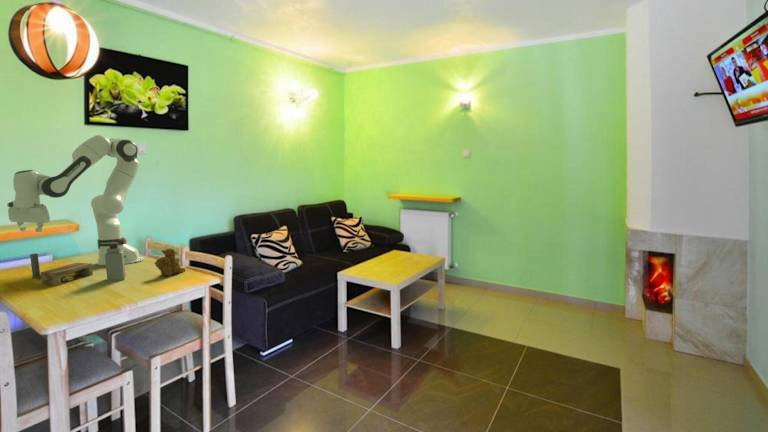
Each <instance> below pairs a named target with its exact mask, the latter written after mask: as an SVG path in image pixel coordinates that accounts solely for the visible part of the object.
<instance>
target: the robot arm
mask: <svg viewBox="0 0 768 432" xmlns="http://www.w3.org/2000/svg"><path fill="white" fill-rule="evenodd" d="M138 150H139V149H138V146H137V144H136V143H135V142H134V141H132V140H129V139H125V138H108V137H106V136H104V135H102V134H96V135H93V136H92V137H90V138H88V139H86V140H85V141H84V142H82V143H81V144H80V145H78V146H77V148H76V149H74V150H73V152H72V154H71V158H72V162H71V163H70V164H69V165H68V166H67V167H66V168H65V169H64V170H63V171H61V172H60V173H59V174H57V175H55V176H50V175H45V174H42V173H40V172H37V171H36V170H34V169H27V170H26V169H25V170H20V171H16V172H15V173H14V174H13V178H12V180H13V190H14V192H15V195H14V200H12V201H10V202H8V203H6V205H7V208H8V209H7V211H8V213H7V214H8V220H9V221H10V222H12V223H16V225H17V227H18V228H19V231H20V232H26V231H27V227H25V223H28V224H29V223H31V224H36V225H37V226H36V228H35V233H41V232H42V231H43V226H44V224H45V223H46V224H47V223H50V221H51V217H50V212H49V210H48V207H47V206H46V205H45V204H44V203H41V199H40V196H41V195H43V196H48V197H50V198H55V199H56V198H62V197H64V196H66V195H67V194H68V192H69V191H70V188H71V186H72V184H73V183H74V182H75V181H76V180H77V179H78V178H79V177H80V176H81V175H82V174H83V173H85V172H86V171H87V170H88V169H89V168H91V167H93V166H94V165H95V164H97V163H98V162H99V161H101V160H102V159H103V158H104V157H105V156H108V157H111V158H114V159H115V158H116V164H115V166H114V168H113V170H112V172H111V173H110V175H109V177H108V178H107V180H106V184H105V185H106V186H105V189H104V191H103V194H98V195H96V196H94V197H93V198H92V200H91V201H90V205H91V208H92V211H93V216H94V219H95V222H96V228H97V229H96V230H97V249H98V259H97V263H96V264H97V265H98V266H106V261H105V254H106V252H107V250H106V249H107V248H108V247H109V244H110V243H118V247H119V246H121V251H122V250H123V251H124V263H125V265H129V264H134V263H135V262H136V263H140V261H141V262H143V261H144V260H143V259H145V258H144V256H143V255H140V252H139V250H138V249H137V248H136V247H134V246H132V245H131V244H129V243H128V242H127V241H128V239H127V237H123V236H122V235H123V234H122V225H121V222H120V220H119V217H118V215H119V214H120V213H122V212H123V210H124V207H125V201H126V198H127V194H128V192H129V189H130V187H131V185H132V184H133V182H134V180H135V178H136V176H137V174H138V170H139V167H140V162H139V161H138V160H137V158H138V152H139V151H138ZM142 260H143V261H142Z"/></svg>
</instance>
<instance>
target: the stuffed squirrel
mask: <svg viewBox="0 0 768 432" xmlns="http://www.w3.org/2000/svg"><path fill="white" fill-rule="evenodd" d="M161 252H162V254H164V256H162V257H160V258H157V260H156V261H154V264H155V265H154V266H155V267H156V268H157V269H158V270H159V271H160V274H161V275H162V276H164V277H172V276H173V275H177V274H176V273H178V274H181V273H180V272H182V273H183V271H184V272H186V268H185V267H181V266H180V258H179V257H176V256H177V255H178V254H179V253H178V252H177V251H175V249H174V248H173V247H172V248H171V247H169V248H166V249H165V250H164V249H162V250H161Z"/></svg>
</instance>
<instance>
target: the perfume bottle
mask: <svg viewBox="0 0 768 432" xmlns="http://www.w3.org/2000/svg"><path fill="white" fill-rule="evenodd" d="M106 250H107V252H106V254H105V261H106V265H105V270H106V282H108V283H109V282H118V281H124V280H125V279H126V277H127V276H126V274H127V273H126V266H125V265H126V264H125V263H124V251H123V250H122V251H121V246H119V247H118V243H110V244H109V247H108V248H107V249H106Z"/></svg>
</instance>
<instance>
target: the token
mask: <svg viewBox="0 0 768 432" xmlns="http://www.w3.org/2000/svg"><path fill="white" fill-rule="evenodd" d="M61 279H62V280H61V281H63V282H68V281H69V282H70V281H73V280H75V276H74V277H73V276H68V277H67V276H66V277H62V278H61Z"/></svg>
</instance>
